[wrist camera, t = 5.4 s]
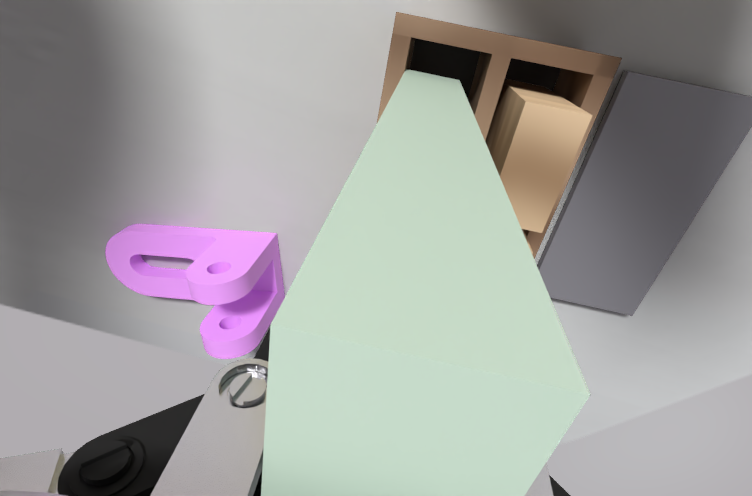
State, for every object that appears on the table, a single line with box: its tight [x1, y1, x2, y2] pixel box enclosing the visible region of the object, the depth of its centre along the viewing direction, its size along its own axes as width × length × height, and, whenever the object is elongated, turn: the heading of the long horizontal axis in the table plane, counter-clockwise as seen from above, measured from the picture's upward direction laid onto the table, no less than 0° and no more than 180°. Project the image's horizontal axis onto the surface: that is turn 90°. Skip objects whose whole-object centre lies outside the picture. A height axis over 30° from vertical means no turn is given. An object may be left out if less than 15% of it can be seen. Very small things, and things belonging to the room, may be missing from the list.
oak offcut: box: [485, 78, 593, 233], centre depth 20 cm, size 5×2×8 cm, turn 170°
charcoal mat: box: [537, 71, 752, 316], centre depth 24 cm, size 14×7×1 cm, turn 170°
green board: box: [261, 69, 590, 496], centre depth 13 cm, size 10×2×18 cm, turn 170°
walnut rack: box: [377, 12, 622, 258], centre depth 23 cm, size 15×9×5 cm, turn 170°
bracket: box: [105, 224, 285, 359], centre depth 28 cm, size 13×6×7 cm, turn 90°
